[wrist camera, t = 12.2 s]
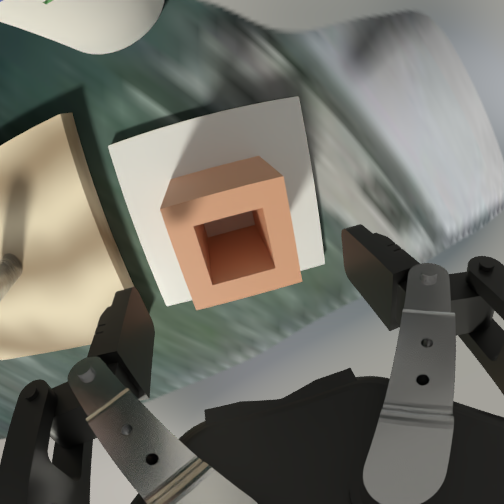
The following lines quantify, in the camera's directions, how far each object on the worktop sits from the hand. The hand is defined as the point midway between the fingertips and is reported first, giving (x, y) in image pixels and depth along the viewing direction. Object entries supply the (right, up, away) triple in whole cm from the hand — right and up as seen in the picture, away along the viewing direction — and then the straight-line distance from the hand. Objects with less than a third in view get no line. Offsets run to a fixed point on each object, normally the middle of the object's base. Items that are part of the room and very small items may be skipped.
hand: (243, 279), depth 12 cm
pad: (-1, +4, +9) cm, 10 cm away
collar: (-1, +4, +9) cm, 9 cm away
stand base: (-17, +1, +8) cm, 19 cm away
